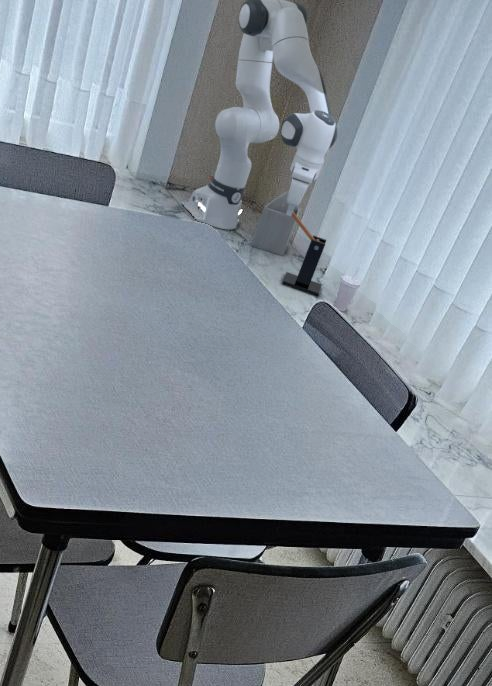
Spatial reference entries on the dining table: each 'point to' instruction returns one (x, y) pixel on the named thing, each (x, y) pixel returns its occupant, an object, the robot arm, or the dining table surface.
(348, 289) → the smoothie
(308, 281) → the bracket
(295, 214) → the lever
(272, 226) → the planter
